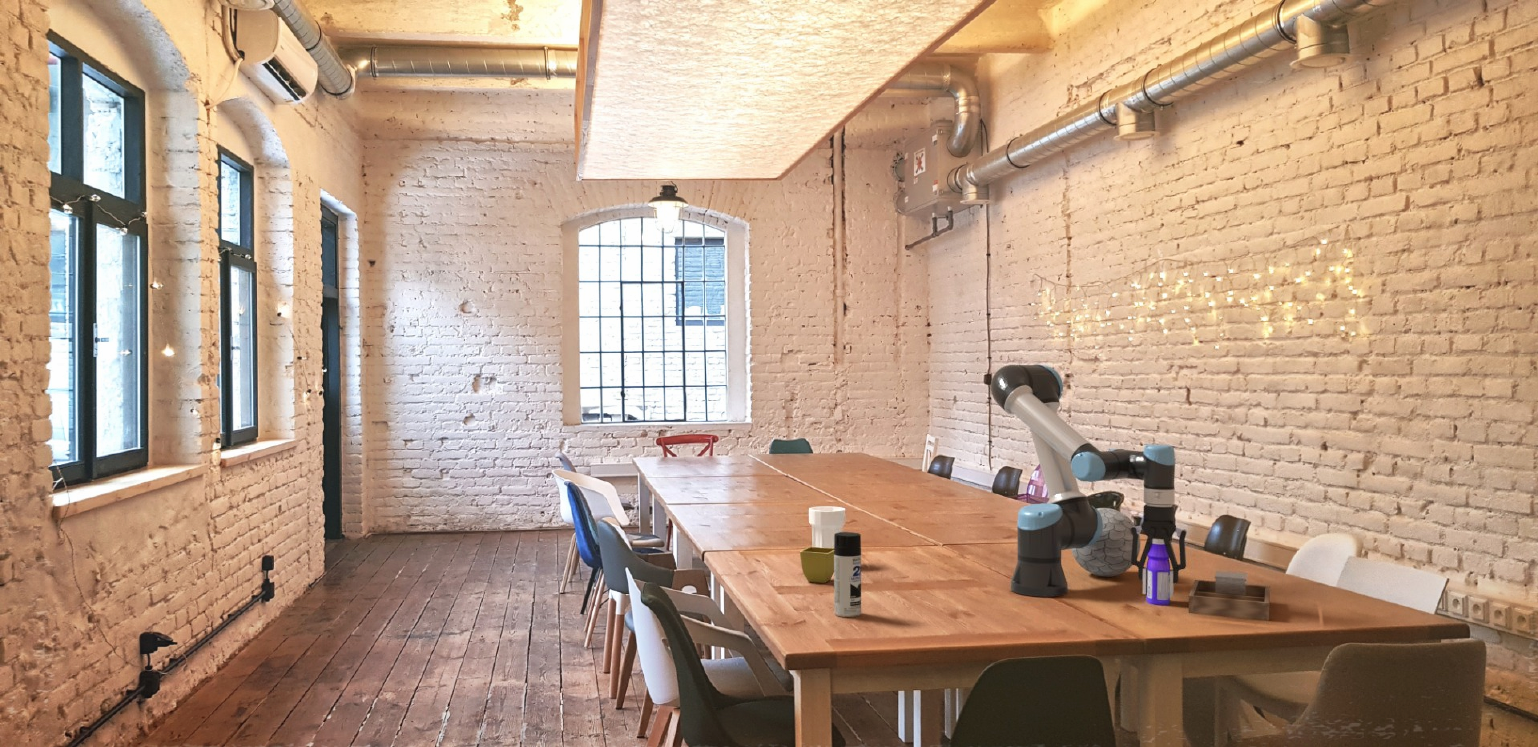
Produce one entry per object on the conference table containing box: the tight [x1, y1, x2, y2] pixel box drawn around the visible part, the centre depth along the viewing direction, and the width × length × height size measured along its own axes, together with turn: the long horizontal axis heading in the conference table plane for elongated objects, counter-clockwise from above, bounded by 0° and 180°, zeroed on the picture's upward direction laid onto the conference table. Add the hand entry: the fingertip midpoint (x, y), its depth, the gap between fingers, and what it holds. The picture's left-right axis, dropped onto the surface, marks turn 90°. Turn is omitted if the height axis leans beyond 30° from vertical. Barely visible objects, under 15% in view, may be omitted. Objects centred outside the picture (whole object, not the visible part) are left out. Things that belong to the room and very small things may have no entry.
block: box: [1214, 570, 1248, 596], centre depth 275 cm, size 7×8×7 cm
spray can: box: [833, 531, 862, 618], centre depth 263 cm, size 7×7×20 cm
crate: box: [1188, 579, 1271, 622], centre depth 270 cm, size 18×22×5 cm
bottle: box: [1145, 538, 1171, 606], centre depth 275 cm, size 7×6×17 cm
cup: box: [808, 505, 847, 548], centre depth 327 cm, size 11×11×17 cm
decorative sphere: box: [1070, 507, 1141, 578], centre depth 313 cm, size 20×20×20 cm
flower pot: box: [799, 546, 834, 584], centre depth 303 cm, size 9×9×9 cm
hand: (1158, 593), depth 275 cm, fingers closed on bottle, 6 cm apart
